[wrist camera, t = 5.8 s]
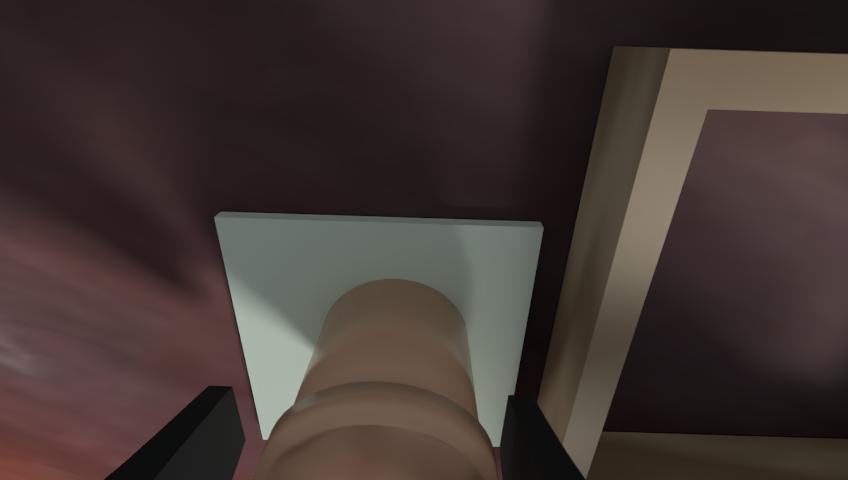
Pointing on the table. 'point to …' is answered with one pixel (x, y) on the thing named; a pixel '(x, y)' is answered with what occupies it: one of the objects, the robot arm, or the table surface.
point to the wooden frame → (640, 249)
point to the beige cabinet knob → (384, 395)
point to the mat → (368, 261)
